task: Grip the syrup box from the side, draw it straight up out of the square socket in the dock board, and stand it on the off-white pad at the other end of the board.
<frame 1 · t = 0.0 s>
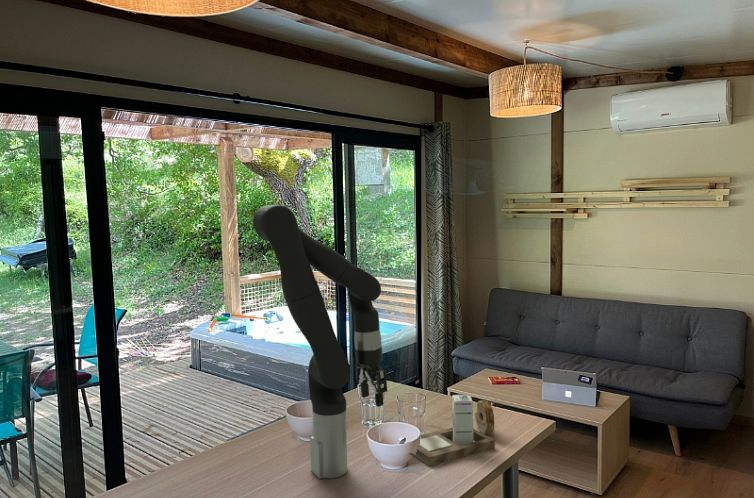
hand: (372, 401, 160), 17 cm above the table, tool pointing down, fingers open, 8 cm apart
dock board: (446, 448, 169), on the table
bagel: (485, 432, 181), on the table
syrup box: (462, 444, 172), resting in dock board
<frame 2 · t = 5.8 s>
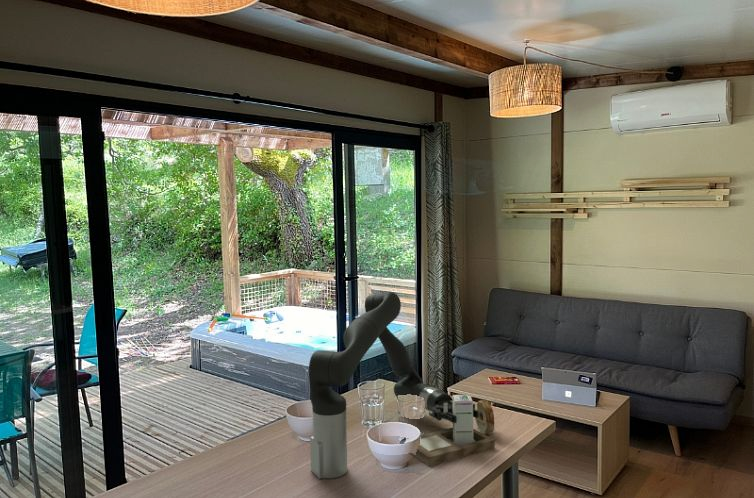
hand: (466, 417, 169), 9 cm above the table, tool horizontal, fingers closed on syrup box, 7 cm apart
syrup box: (462, 444, 172), resting in dock board, touching gripper
everything else where it was.
when the fingers open (13 cm above the table, at t = 14.0 s): syrup box drops 1 cm, resting on dock board.
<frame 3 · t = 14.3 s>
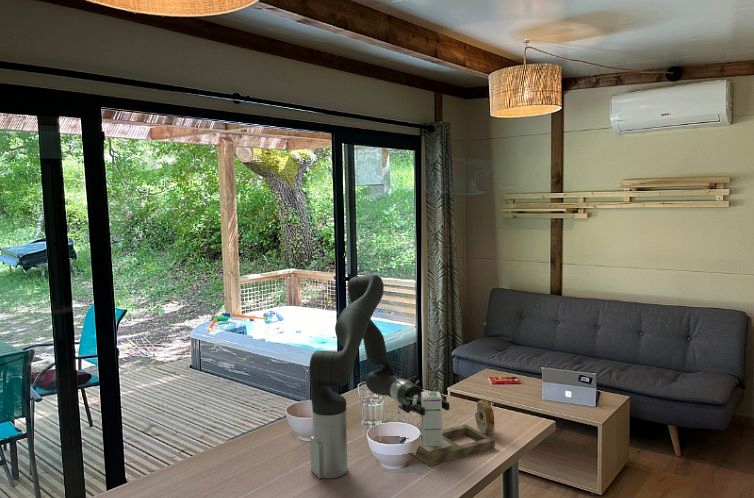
hand: (436, 409, 164), 13 cm above the table, tool horizontal, fingers open, 8 cm apart
syrup box: (431, 443, 166), point 3 cm above the table, touching dock board, gripper
everything else where it was.
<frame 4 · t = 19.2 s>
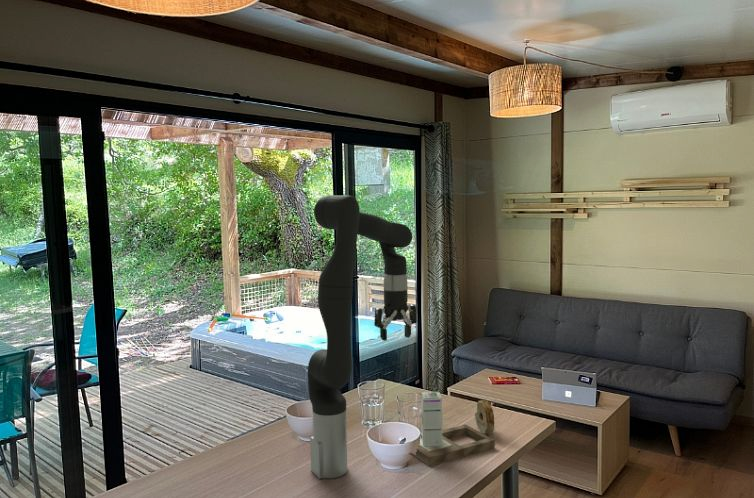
hand: (395, 338, 180), 30 cm above the table, tool pointing down, fingers open, 8 cm apart
syrup box: (431, 443, 166), point 3 cm above the table, touching dock board
everything else where it was.
at the end: syrup box inside the target area (0.2 cm from its centre), point 2.6 cm above the table; syrup box tilted 0°; the gripper is holding nothing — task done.
